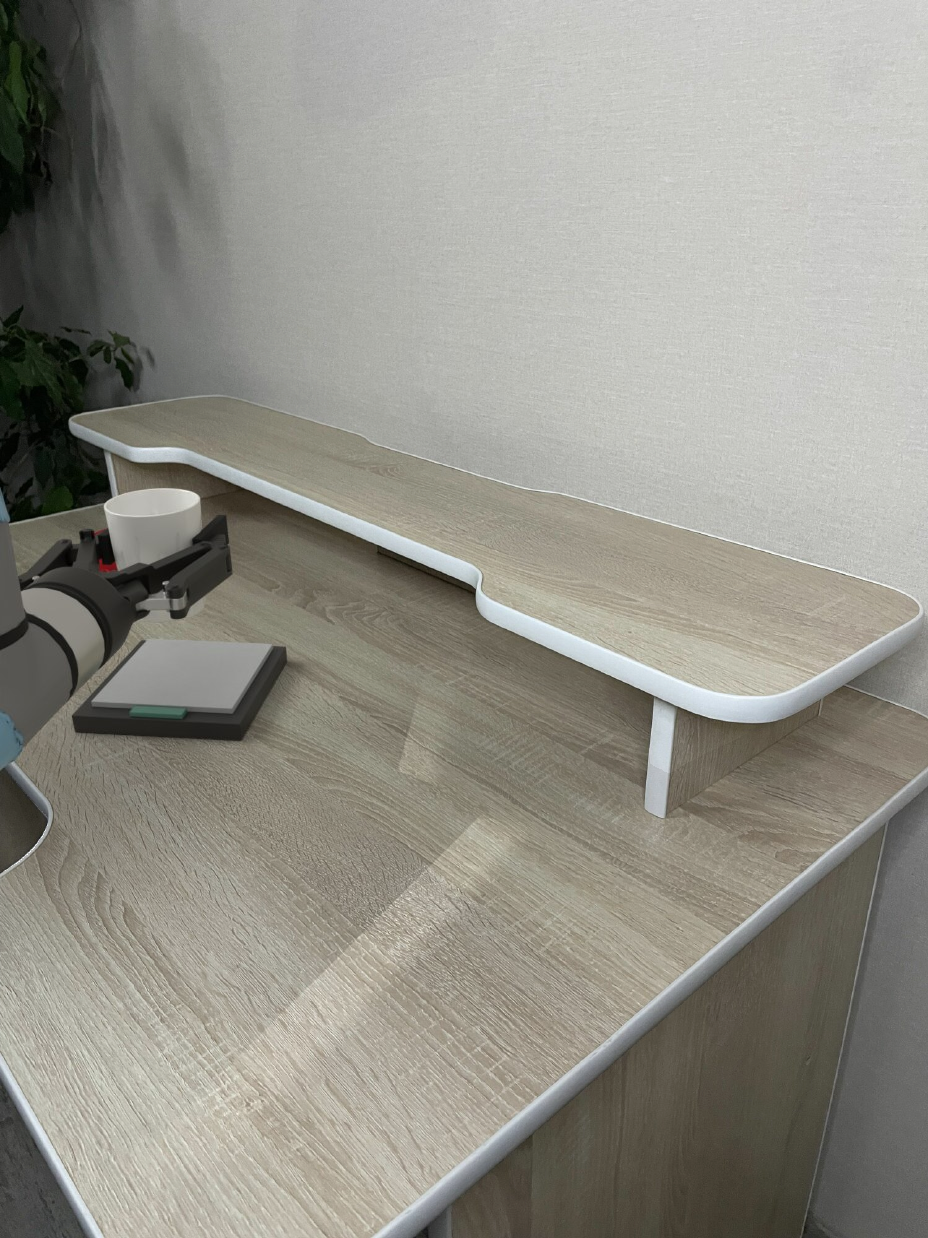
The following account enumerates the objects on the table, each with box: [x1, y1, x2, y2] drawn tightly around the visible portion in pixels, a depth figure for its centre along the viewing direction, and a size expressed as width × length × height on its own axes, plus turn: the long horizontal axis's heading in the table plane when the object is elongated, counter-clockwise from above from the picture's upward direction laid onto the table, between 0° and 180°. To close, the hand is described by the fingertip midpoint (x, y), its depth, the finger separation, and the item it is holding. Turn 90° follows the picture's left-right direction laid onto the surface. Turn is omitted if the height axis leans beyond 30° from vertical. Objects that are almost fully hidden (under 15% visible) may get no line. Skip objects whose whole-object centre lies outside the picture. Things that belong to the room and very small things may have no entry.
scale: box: [71, 638, 288, 742], centre depth 93 cm, size 16×16×2 cm
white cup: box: [103, 487, 207, 624], centre depth 82 cm, size 8×8×10 cm
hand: (179, 527), depth 86 cm, fingers closed on white cup, 8 cm apart
